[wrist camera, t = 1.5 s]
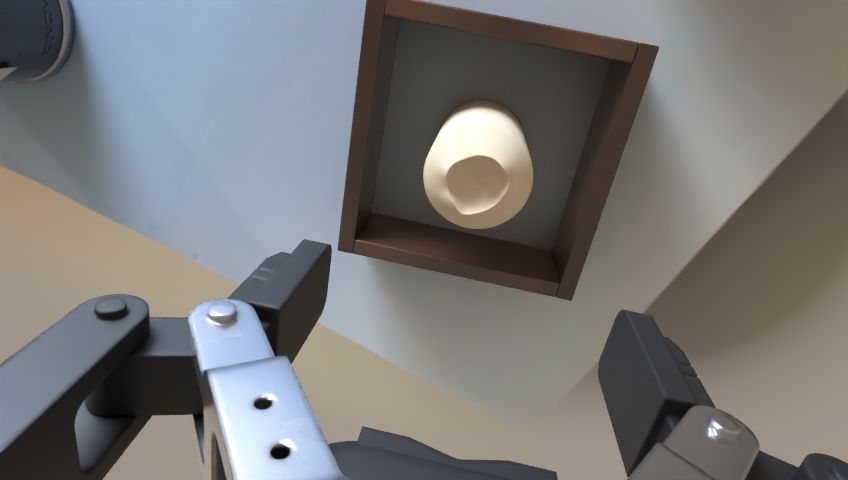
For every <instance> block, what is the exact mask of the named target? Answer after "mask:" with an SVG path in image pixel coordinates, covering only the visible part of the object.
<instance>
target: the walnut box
mask: <svg viewBox="0 0 848 480" xmlns="http://www.w3.org/2000/svg"><path fill="white" fill-rule="evenodd" d="M399 18H401V19H406V20H412V21H417V22H422V23H427V24H432V25H437V26H442V27H448V28H453V29H458V30H463V31H468V32H473V33H478V34H484V35H489V36H494V37H499V38H504V39H509V40H514V41H520V42H525V43H530V44H535V45H540V46H545V47H550V48H556V49H561V50H566V51H571V52H576V53H581V54H586V55H592V56H597V57H602V58H607V59H611V62H610V65H609V69H608V72H607V75H606V78H605V81H604V85H603V88H602V91H601V94H600V97H599V101H598V104H597V107H596V110H595V113H594V117H593V120H592V123H591V126H590V129H589V133H588V136H587V139H586V142H585V145H584V149H583V152H582V155H581V158H580V161H579V165H578V168H577V171H576V174H575V177H574V181H573V184H572V187H571V190H570V193H569V197H568V200H567V203H566V206H565V209H564V213H563V216H562V219H561V222H560V226H559V229H558V232H557V235H556V238H555V242H554V245H553V248H552V251H549V250H545V249H540V248H535V247H531V246H526V245H521V244H516V243H512V242H507V241H502V240H498V239H493V238H488V237H483V236H479V235H474V234H469V233H465V232H460V231H455V230H450V229H446V228H441V227H436V226H432V225H427V224H422V223H417V222H413V221H408V220H403V219H398V218H394V217H389V216H384V215H380V214H375V213H372V207H373V200H374V193H375V186H376V179H377V172H378V165H379V158H380V151H381V144H382V137H383V130H384V123H385V116H386V109H387V102H388V95H389V88H390V81H391V74H392V67H393V60H394V53H395V46H396V39H397V32H398V25H399ZM658 49H659V47H658V46H654V45H649V44H644V43H638V42H633V41H628V40H623V39H617V38H612V37H607V36H602V35H597V34H591V33H586V32H581V31H576V30H571V29H566V28H560V27H555V26H550V25H545V24H540V23H534V22H529V21H524V20H519V19H514V18H508V17H503V16H498V15H493V14H488V13H482V12H477V11H472V10H467V9H462V8H456V7H451V6H446V5H441V4H436V3H430V2H425V1H420V0H367V1H366V10H365V18H364V27H363V36H362V44H361V53H360V61H359V70H358V79H357V87H356V96H355V105H354V113H353V122H352V130H351V139H350V148H349V156H348V165H347V173H346V182H345V191H344V199H343V208H342V217H341V225H340V234H339V242H338V250H339V251H343V252H348V253H354V254H358V255H363V256H367V257H372V258H377V259H381V260H386V261H390V262H395V263H400V264H404V265H409V266H414V267H418V268H423V269H427V270H432V271H437V272H441V273H446V274H451V275H455V276H460V277H465V278H469V279H474V280H478V281H483V282H488V283H492V284H497V285H502V286H506V287H511V288H516V289H520V290H525V291H529V292H534V293H539V294H543V295H548V296H553V297H555V296H556V297H557V298H561V299H566V300H570V301H571V300H572V298H573V295H574V292H575V289H576V286H577V283H578V281H579V278H580V275H581V272H582V269H583V266H584V263H585V260H586V257H587V255H588V252H589V249H590V246H591V243H592V240H593V237H594V234H595V231H596V229H597V226H598V223H599V220H600V217H601V214H602V211H603V208H604V205H605V203H606V200H607V197H608V194H609V191H610V188H611V185H612V182H613V179H614V177H615V174H616V171H617V168H618V165H619V162H620V159H621V156H622V153H623V151H624V148H625V145H626V142H627V139H628V136H629V133H630V130H631V127H632V125H633V122H634V119H635V116H636V113H637V110H638V107H639V104H640V101H641V99H642V96H643V93H644V90H645V87H646V84H647V81H648V78H649V75H650V73H651V70H652V67H653V64H654V61H655V58H656V55H657V52H658Z"/></svg>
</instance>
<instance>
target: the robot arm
mask: <svg viewBox="0 0 848 480" xmlns="http://www.w3.org/2000/svg"><path fill="white" fill-rule="evenodd" d="M73 31H74V27H73V16H72V11H71V6H70V3H69V0H0V84H2V83H10V82H18V83H21V82H32V81H38V80H42V79H45V78H47V77H49V76H51V75H53V74H54V73H56V72H57V71H58V70H59V69H60V68H61V67H62V66H63V64H64V63H65V61H66V60H67V58H68V55H69V53H70V50H71V47H72V42H73ZM331 253H332V248H331V245H328V244H324V243H319V242H315V241H310V240H306V239H304V240H303V241H302V242H301V243H300V244H299V245H298V246H297V248H296V249H295V250H294V251H293V252H292V253H291V254H289V253H284V252H280V253H278V254H276V255H273V256H271V257H269V258H266V260H265V261H264V262H263V263H262V264H261V265H260V266H259V267H258V269H256V270H255V271H254V272H253V273H252V274H251V275H250V277H248V278H247V279H246V280H245V281H244V282H243V283H242V284H241V285H240V286H239V287H238V288H237V289H236V290H235V291H234V292H233V293H232V294H231V296H230V297H228V298H227V299H214V300H210V301H206V302H203V303H201V304H199V305H197V306H196V307H194V308H193V309H192V311H191V312H190V313H189V316H188V317H186V318H166V317H149V306H148V304H147V303H146V302H145V301H144V300H143V299H141V298H139V297H136V296H132V295H125V294H124V295H123V294H116V295H115V294H114V295H105V296H101V297H97V298H93V299H91V300H88V301H86V302H84V303H82V304H81V305H79V306H78V307H76V308H75V309H74V310H72V311H71V312H70V313H68V314H67V315H66V316H64V317H63V318H62V319H60V320H59V321H58V322H56V323H55V324H53V325H52V326H51V327H49V328H48V329H47V330H45V331H44V332H43V333H41V334H40V335H39V336H38V337H36V338H35V339H33V340H32V341H31V342H29V343H28V344H27V345H26V346H24V347H23V348H22V349H20V350H19V351H17V352H16V353H15V354H14V355H12V356H11V357H9V358H8V359H7V360H5V361H4V362H3V363H1V364H0V480H102V479H103V478H104V477H105V476H106V474H107V473H108V472H109V470H110V469H111V468H112V466H113V465H114V464H115V463H116V461H117V460H118V459H119V458H120V456H121V455H122V454H123V452H124V451H125V450H126V448H127V447H128V446H129V445H130V443H131V442H132V441H133V440H134V438H135V437H136V436H137V435H138V433H139V432H140V431H141V429H142V428H143V427H144V426H145V424H146V423H147V422H148V420H149V419H150V418H151V416H152V415H187V414H190V417H191V423H192V428H193V433H194V438H195V444H196V449H197V454H198V459H199V464H200V469H201V474H202V480H557V473H556V472H554V471H550V470H545V469H541V468H537V467H533V466H528V465H524V464H520V463H516V462H512V461H500V460H495V461H494V460H460V459H456V458H453V457H451V456H449V455H447V454H444V453H442V452H440V451H438V450H436V449H433V448H431V447H429V446H427V445H425V444H423V443H420V442H418V441H416V440H414V439H412V438H409V437H406V436H401V435H397V434H393V433H388V432H384V431H380V430H376V429H372V428H367V427H362V429H361V432H360V435H359V438H358V441H345V442H337V443H331V444H328V443H327V441H326V439H325V437H324V435H323V433H322V431H321V428H320V426H319V424H318V422H317V420H316V417H315V415H314V413H313V411H312V409H311V407H310V405H309V402H308V400H307V398H306V396H305V394H304V392H303V389H302V387H301V385H300V383H299V381H298V378H297V376H296V375H295V372H294V370H293V368H292V365H291V364H292V362H293V361H294V359H295V357H296V356H297V354H298V352H299V351H300V349H301V347H302V346H303V344H304V342H305V341H306V339H307V337H308V336H309V334H310V332H311V331H312V329H313V327H314V326H315V324H316V322H317V321H318V319H319V317H320V316H321V314H322V311H323V309H324V305H325V302H326V297H327V290H328V281H329V272H330V263H331ZM690 365H691V364H690V363H689V361H688V359H687V357H686V355H685V354H684V352H683V351H682V350H681V349H680V348H679V347H678V346H677V345H676V344H675V343H674V342H673V341H671V340H670V339H669V338H667V337H663V336H662V333H661V332H660V330H659V328H658V326H657V324H656V323H655V320H654V319H653V317H652V316H650V315H646V314H642V313H637V312H632V311H628V310H621V311H620V312H619V313H618V315H617V317H616V319H615V321H614V324H613V327H612V329H611V332H610V334H609V337H608V339H607V342H606V344H605V347H604V349H603V352H602V354H601V357H600V361H599V368H598V377H599V381H600V385H601V388H602V392H603V395H604V399H605V402H606V405H607V409H608V412H609V416H610V419H611V422H612V426H613V429H614V432H615V436H616V439H617V443H618V446H619V450H620V453H621V456H622V460H623V463H624V466H625V470H626V473H627V477H629V478H628V479H627V480H848V463H846V462H844V461H842V460H839V459H837V458H834V457H832V456H828V455H825V454H817V453H814V454H809V455H807V456H806V457H805V459H804V461H803V462H802V463H801V465H800V467H799V468H798V467H795V466H793V465H791V464H789V463H786V462H784V461H782V460H780V459H777V458H775V457H773V456H770V455H768V454H766V453H764V452H762V451H760V450H759V448H760V447H759V442H758V440H757V438H756V436H755V435H754V434H753V432H752V431H751V430H750V429H749V428H748V427H747V426H746V425H745V424H743V423H742V422H741V421H739V420H738V419H737V418H735V417H733V416H732V415H730V414H728V413H726V412H724V411H722V410H720V409H716V407H715V406H714V404H713V402H712V401H711V399H710V397H709V395H708V394H707V392H706V390H705V388H704V387H703V385H702V383H701V381H700V380H699V378H697V374H696V373H695V371H694V369H693V368H692V367H690Z"/></svg>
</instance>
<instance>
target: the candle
mask: <svg viewBox="0 0 848 480" xmlns="http://www.w3.org/2000/svg"><path fill="white" fill-rule="evenodd" d="M423 181H424V187H425V191H426V194H427V196H428V199H429V201H430V202H431V204H432V205H433V207H434V208H435V209H436V211H437V212H438V213H439V214H440V215H442V216H443V217H444V218H445V219H447V220H448V221H450V222H452V223H454V224H456V225H459V226H462V227H465V228H471V229H484V228H490V227H494V226H497V225H500V224H502V223H504V222H506V221H508V220H509V219H511V218H512V217H513V216H515V215H516V214H517V213H518V212H519V211H520V210H521V209H522V207H523V206H524V204H525V203H526V201H527V199H528V197H529V195H530V192H531V190H532V185H533V166H532V161H531V158H530V154H529V151H528V147H527V143H526V140H525V136H524V133H523V130H522V127H521V125H520V123H519V121H518V119H517V118H516V116H515V115H514V114H513V113H512V112H511V111H510V110H509V109H508V108H506V107H505V106H503V105H502V104H499V103H497V102H494V101H489V100H475V101H471V102H467V103H465V104H463V105H461V106H459V107H458V108H456V109H455V110H454V111H453V112H452V113H451V114H450V115H449V116H448V117H447V119H446V120H445V122H444V124H443V125H442V127H441V129H440V131H439V133H438V135H437V137H436V139H435V141H434V143H433V145H432V147H431V149H430V151H429V154H428V156H427V159H426V161H425V165H424V172H423Z"/></svg>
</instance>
